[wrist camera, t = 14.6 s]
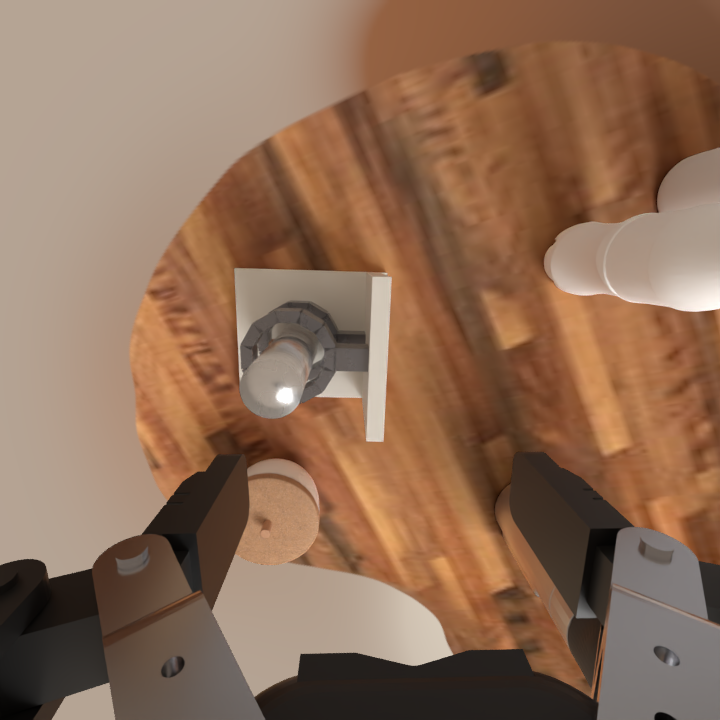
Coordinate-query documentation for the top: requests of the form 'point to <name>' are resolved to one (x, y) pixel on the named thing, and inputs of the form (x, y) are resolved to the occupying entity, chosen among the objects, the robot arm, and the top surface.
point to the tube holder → (350, 313)
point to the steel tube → (280, 373)
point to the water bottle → (644, 259)
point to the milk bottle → (691, 182)
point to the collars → (338, 345)
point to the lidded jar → (279, 513)
